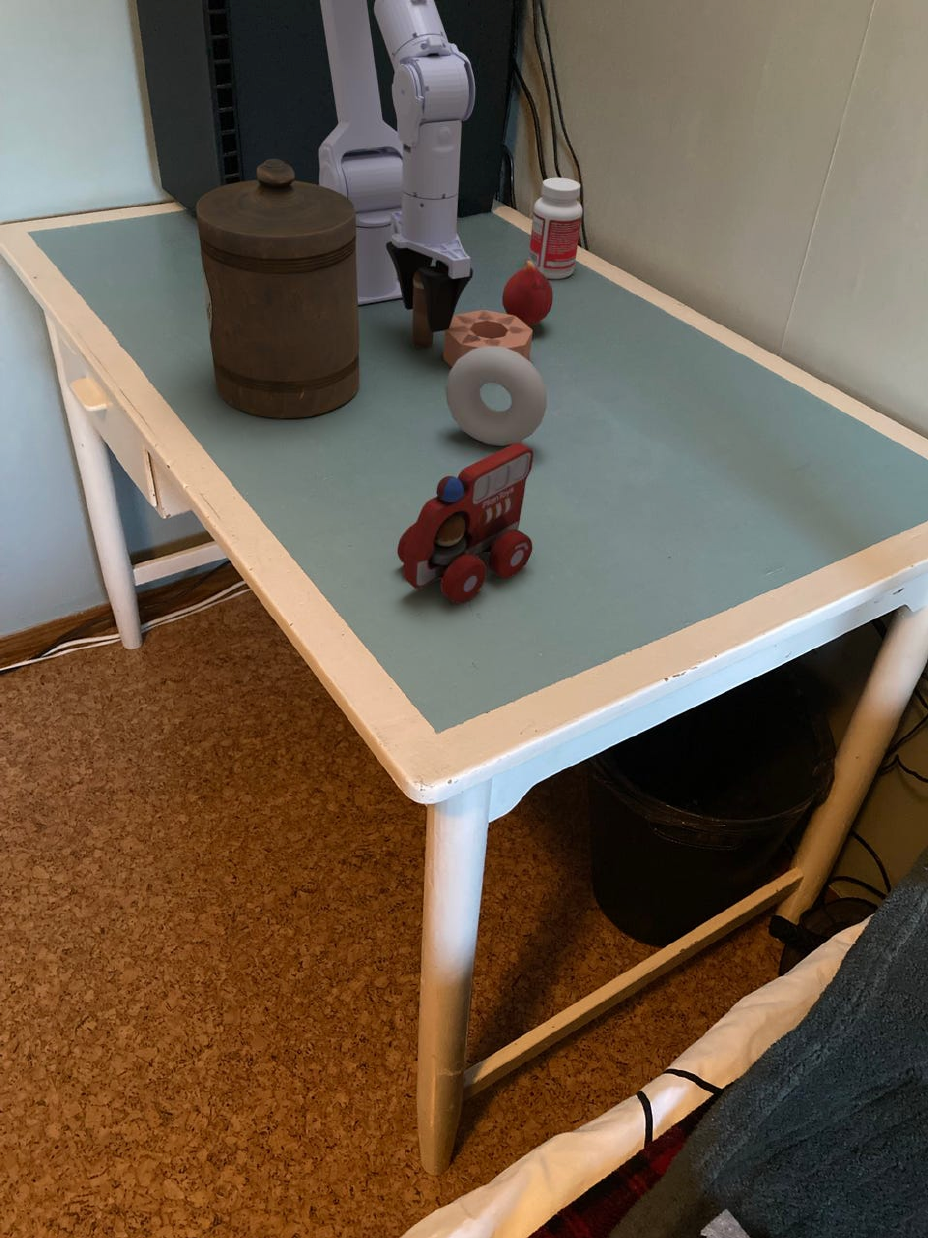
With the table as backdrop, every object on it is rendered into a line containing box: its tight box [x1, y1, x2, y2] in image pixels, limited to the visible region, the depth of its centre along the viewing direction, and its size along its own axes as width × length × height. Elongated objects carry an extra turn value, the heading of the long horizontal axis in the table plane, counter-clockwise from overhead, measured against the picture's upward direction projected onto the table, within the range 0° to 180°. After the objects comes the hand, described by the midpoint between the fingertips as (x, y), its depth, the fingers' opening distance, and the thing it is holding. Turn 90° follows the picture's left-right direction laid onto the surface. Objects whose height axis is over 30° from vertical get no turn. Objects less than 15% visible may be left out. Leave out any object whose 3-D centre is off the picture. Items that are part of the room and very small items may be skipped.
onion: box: [501, 260, 554, 328], centre depth 111 cm, size 6×6×8 cm
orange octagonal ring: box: [442, 309, 534, 369], centre depth 107 cm, size 9×9×4 cm
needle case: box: [411, 271, 434, 349], centre depth 107 cm, size 2×2×8 cm
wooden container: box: [195, 158, 360, 419], centre depth 94 cm, size 15×15×22 cm
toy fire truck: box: [396, 442, 534, 604], centre depth 77 cm, size 7×12×10 cm, turn 132°
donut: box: [445, 346, 548, 447], centre depth 92 cm, size 10×4×10 cm, turn 71°
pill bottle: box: [527, 177, 583, 280], centre depth 123 cm, size 6×6×11 cm
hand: (426, 318), depth 107 cm, fingers open, 5 cm apart
